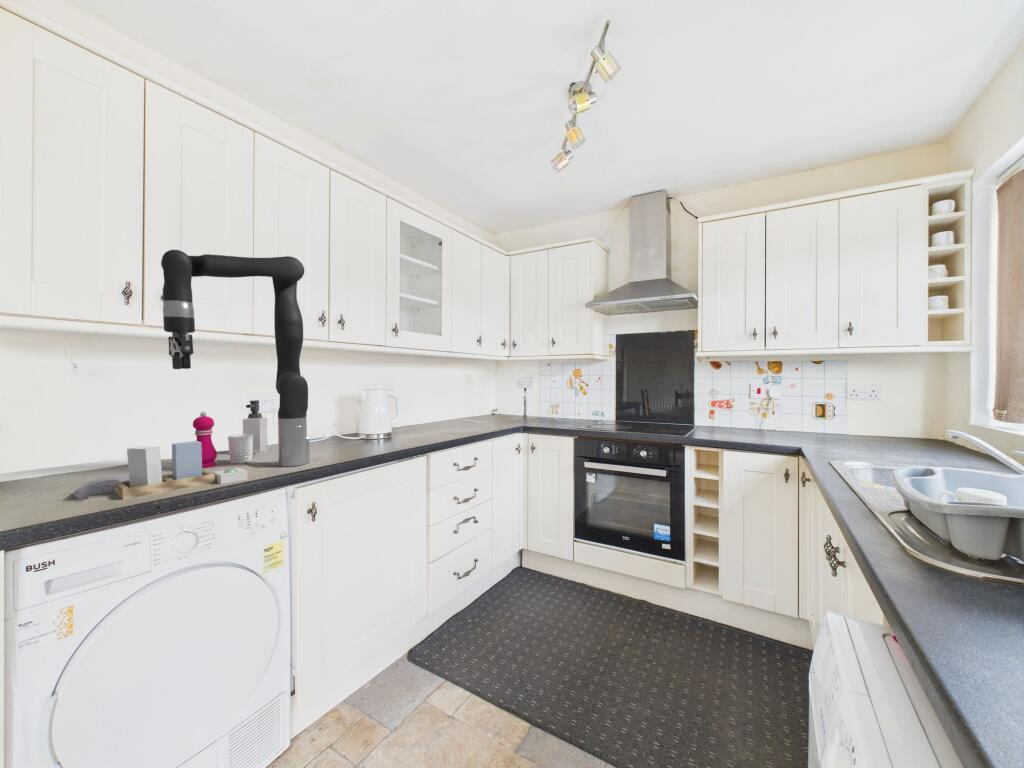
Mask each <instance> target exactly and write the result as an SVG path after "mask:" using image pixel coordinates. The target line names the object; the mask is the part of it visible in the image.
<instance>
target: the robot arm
mask: <svg viewBox="0 0 1024 768" xmlns="http://www.w3.org/2000/svg"><path fill="white" fill-rule="evenodd" d="M160 266H161V268H162V270H163V271H162V273H163V287H162V294H163V295H162V298H163V305H162V315H163V316H162V319H163V320H162V321H163V331H164V332H166V333H172V336H168V356H170V358H171V362H172V369H173V370H181V369H183V370H188V369H189V370H190V369H191V368H192V367H191V366H192V364H191V357H192V355H193V354H194V342H193V333H195V332H196V326H195V325H196V324H195V309H194V305H193V304H194V303H193V301H194V300H193V290H192V279H193V278H195V277H196V278H197V277H212V278H248V277H265V278H266V277H268V278H271V279H272V286H273V290H274V291H273V292H274V308H273V309H274V314H273V315H274V316H273V317H274V338H275V339H274V340H275V342H274V343H275V350H276V361H277V366H276V367H277V368H276V381H275V390H276V392H277V393H278V395H279V407H278V410H277V438H278V439H277V440H278V466H279V467H287V466H288V467H297V466H303V465H305V464H309V463H310V459H311V458H310V437H308V435H307V433H308V430H307V427H308V425H307V412H308V409H309V386H308V381H307V380H306V378H305V377H304V376H302V375H301V368H300V367H301V365H300V359H301V352H302V349H303V343H304V320H303V316H302V313H301V310H300V306H299V302H298V298H297V291H298V288H297V287H298V282H299V281H300V280H301V279H302V278H303V276H304V275H305V267H304V265H303V263H302V262H301V261H300V260H299V259H297V258H296V257H294V256H289V255H288V256H286V255H285V256H275V257H247V256H233V255H225V254H222V255H221V254H201V255H188V254H187V253H185V252H184V251H182V250H179V249H169V250H167V251H165V252H164V253H163V255H162V257H161V261H160ZM191 333H192V334H191Z"/></svg>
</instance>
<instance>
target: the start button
mask: <svg viewBox="0 0 1024 768" xmlns="http://www.w3.org/2000/svg"><path fill="white" fill-rule="evenodd" d="M224 470H225V473H230V472H235V469H234V468H229V469H228V468H227V469H224Z"/></svg>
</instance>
